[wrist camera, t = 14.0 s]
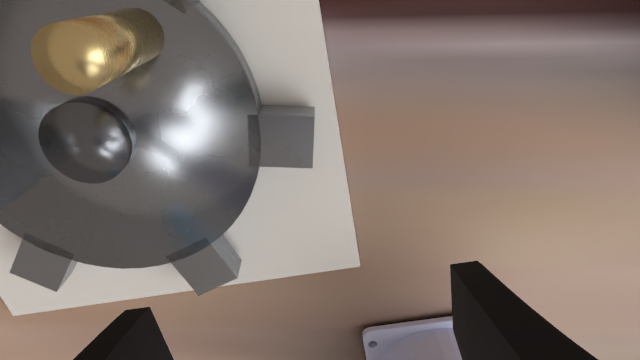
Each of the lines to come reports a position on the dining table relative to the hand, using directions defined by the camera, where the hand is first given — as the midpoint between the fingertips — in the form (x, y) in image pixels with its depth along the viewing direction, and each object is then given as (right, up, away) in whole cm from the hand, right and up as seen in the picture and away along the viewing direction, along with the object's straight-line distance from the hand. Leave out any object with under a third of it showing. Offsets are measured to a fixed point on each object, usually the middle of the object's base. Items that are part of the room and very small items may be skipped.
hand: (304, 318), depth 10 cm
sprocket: (-8, +6, +9) cm, 13 cm away
